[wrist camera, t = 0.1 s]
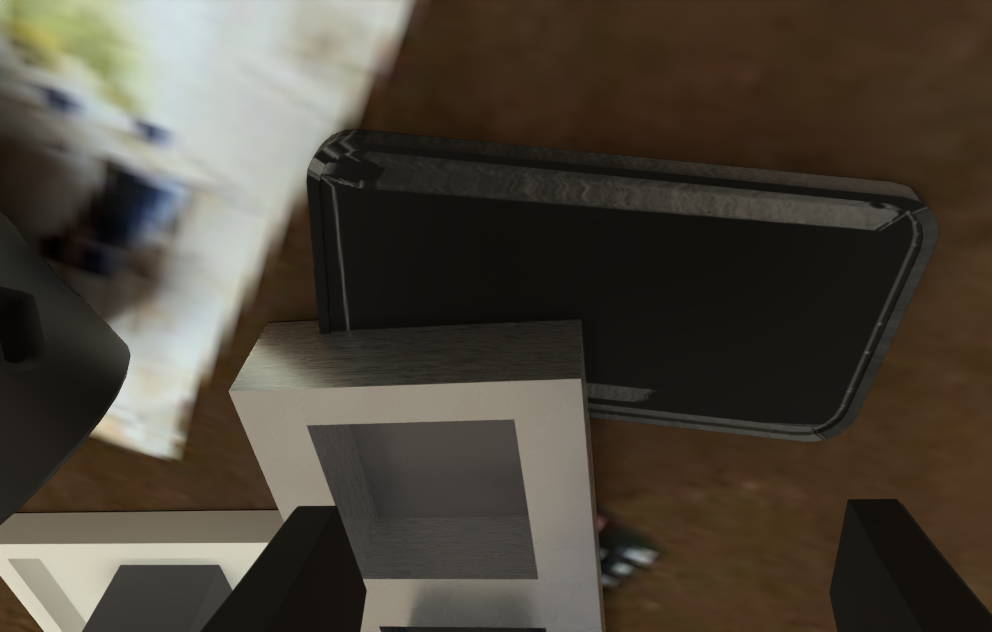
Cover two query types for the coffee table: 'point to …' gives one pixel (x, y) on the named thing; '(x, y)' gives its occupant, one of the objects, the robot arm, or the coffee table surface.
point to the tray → (118, 553)
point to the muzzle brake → (47, 370)
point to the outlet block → (439, 465)
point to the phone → (630, 270)
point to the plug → (160, 599)
